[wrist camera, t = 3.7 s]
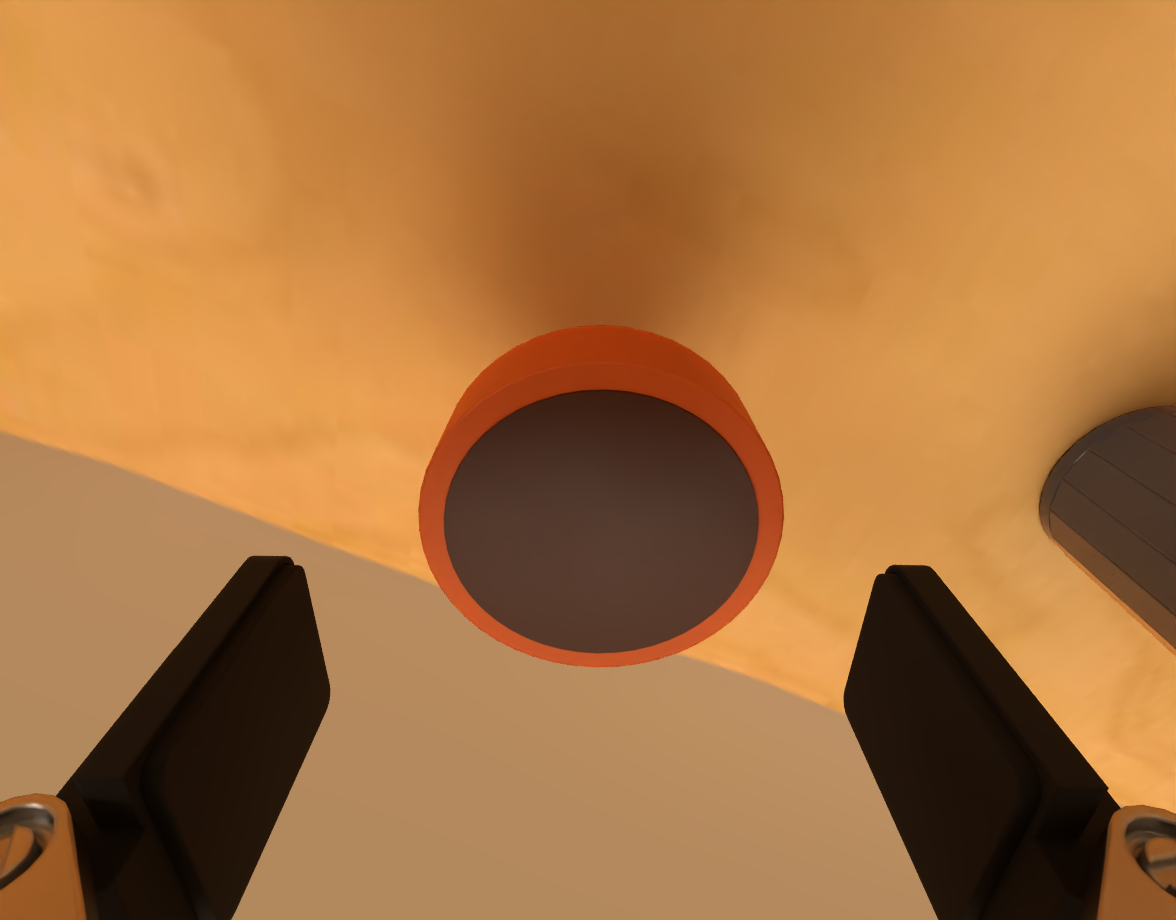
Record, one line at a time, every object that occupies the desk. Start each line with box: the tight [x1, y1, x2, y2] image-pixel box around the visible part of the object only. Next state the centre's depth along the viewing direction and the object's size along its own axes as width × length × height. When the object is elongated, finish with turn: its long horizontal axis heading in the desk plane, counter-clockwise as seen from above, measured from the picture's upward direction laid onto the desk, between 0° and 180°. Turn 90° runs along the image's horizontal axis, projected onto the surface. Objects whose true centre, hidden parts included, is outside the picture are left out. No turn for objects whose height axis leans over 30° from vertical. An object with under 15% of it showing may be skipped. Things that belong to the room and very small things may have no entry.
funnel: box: [418, 325, 784, 667], centre depth 17 cm, size 7×7×10 cm
